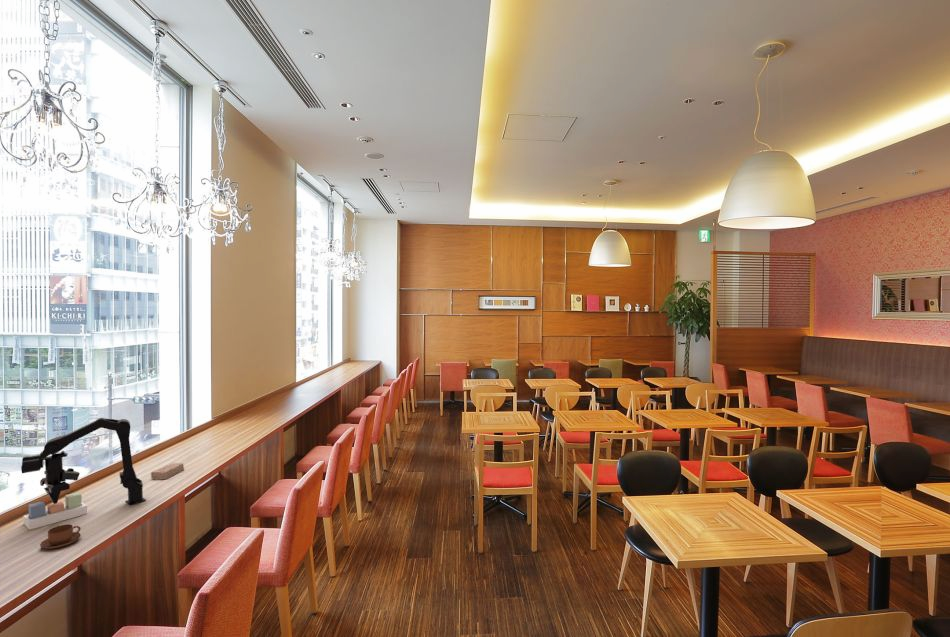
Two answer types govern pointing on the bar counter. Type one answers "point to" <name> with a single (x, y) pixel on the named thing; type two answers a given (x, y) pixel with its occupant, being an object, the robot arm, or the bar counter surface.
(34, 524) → the socket board
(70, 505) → the block sage
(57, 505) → the block terracotta
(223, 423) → the bar counter surface
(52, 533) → the cup and saucer
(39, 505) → the blue block
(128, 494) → the robot arm
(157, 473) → the brick
